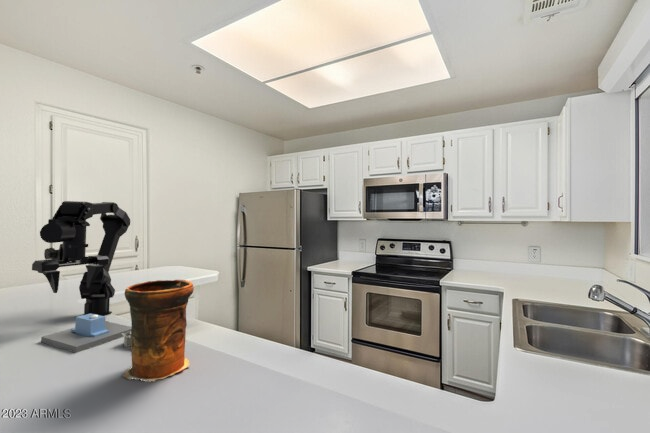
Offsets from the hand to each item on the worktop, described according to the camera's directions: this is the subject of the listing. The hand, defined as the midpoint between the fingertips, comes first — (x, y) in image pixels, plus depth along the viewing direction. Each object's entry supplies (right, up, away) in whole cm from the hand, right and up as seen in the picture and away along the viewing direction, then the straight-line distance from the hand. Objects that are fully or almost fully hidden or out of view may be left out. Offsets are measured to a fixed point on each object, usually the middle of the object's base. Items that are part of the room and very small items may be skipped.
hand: (72, 290), depth 97 cm
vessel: (+40, -13, -25) cm, 49 cm away
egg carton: (+29, -13, -10) cm, 33 cm away
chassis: (+11, -12, -7) cm, 18 cm away
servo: (+11, -12, -7) cm, 18 cm away
